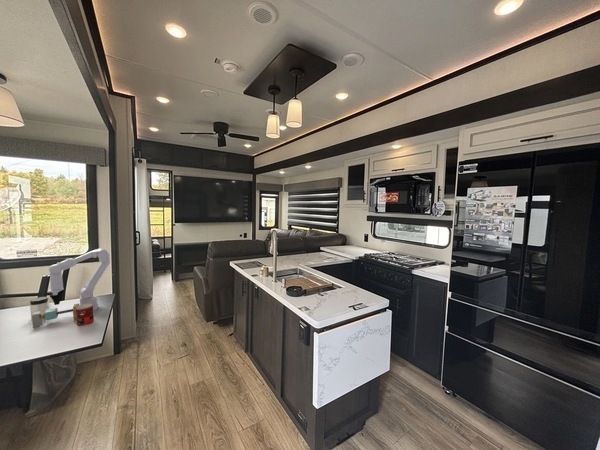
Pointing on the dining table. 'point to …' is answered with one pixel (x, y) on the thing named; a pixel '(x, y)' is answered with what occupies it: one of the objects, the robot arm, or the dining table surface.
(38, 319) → the rod peg assembly
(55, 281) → the robot arm
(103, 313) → the dining table surface
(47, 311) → the sleeve
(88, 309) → the canned food
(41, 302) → the jar
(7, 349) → the dining table surface
